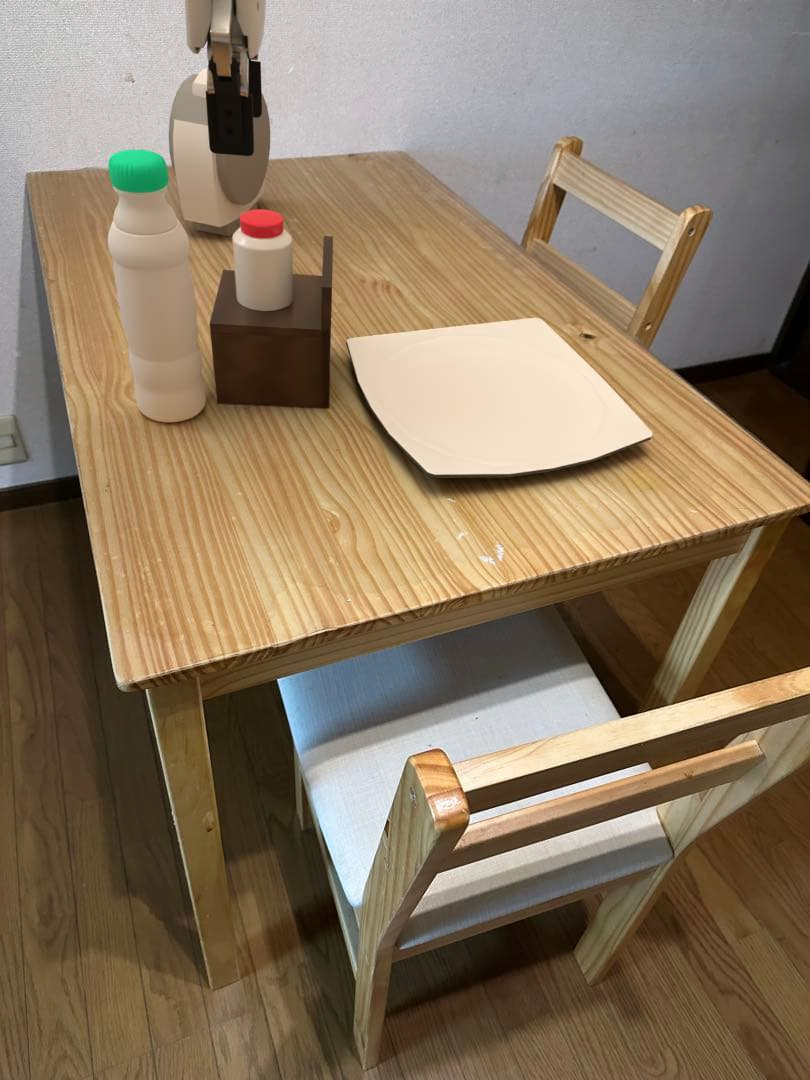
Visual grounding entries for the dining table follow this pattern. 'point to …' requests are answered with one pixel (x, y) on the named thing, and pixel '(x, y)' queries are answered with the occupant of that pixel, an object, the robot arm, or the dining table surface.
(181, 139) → the alarm clock
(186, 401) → the water bottle
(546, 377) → the plate
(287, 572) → the dining table surface
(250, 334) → the wooden block chair
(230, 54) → the robot arm
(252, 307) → the pill bottle
